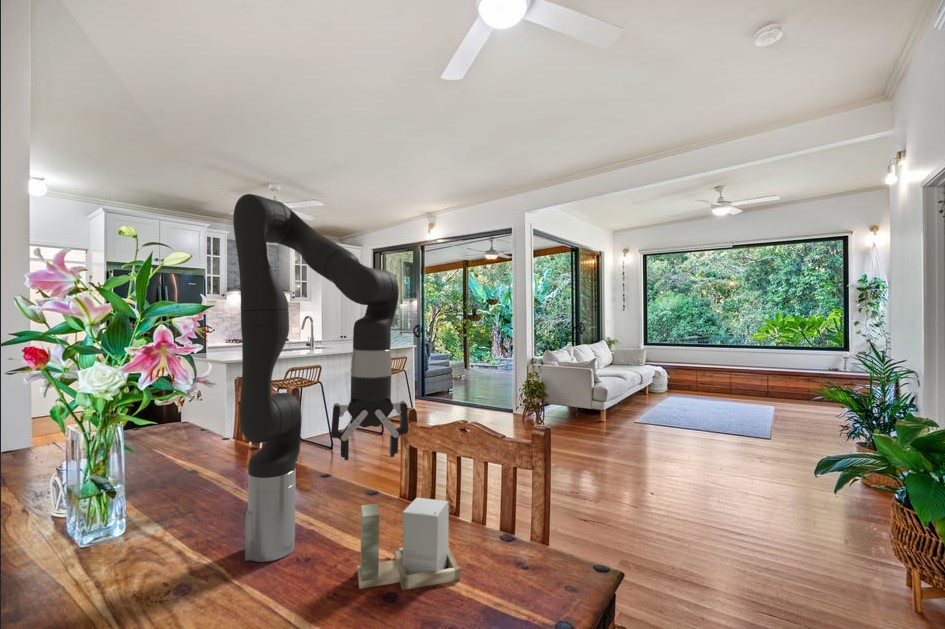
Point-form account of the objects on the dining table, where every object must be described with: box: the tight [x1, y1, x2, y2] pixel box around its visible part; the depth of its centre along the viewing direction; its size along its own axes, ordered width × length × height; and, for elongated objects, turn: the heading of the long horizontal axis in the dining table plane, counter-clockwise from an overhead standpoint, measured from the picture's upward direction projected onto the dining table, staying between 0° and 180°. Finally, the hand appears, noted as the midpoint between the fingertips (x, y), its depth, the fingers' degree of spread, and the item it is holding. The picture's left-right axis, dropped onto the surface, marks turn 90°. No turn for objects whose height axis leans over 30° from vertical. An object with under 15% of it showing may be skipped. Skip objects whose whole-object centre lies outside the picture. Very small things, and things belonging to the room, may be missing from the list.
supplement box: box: [401, 497, 449, 575], centre depth 88 cm, size 7×7×13 cm
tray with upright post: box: [357, 503, 461, 591], centre depth 87 cm, size 18×11×13 cm, turn 107°
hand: (369, 457), depth 85 cm, fingers open, 8 cm apart
